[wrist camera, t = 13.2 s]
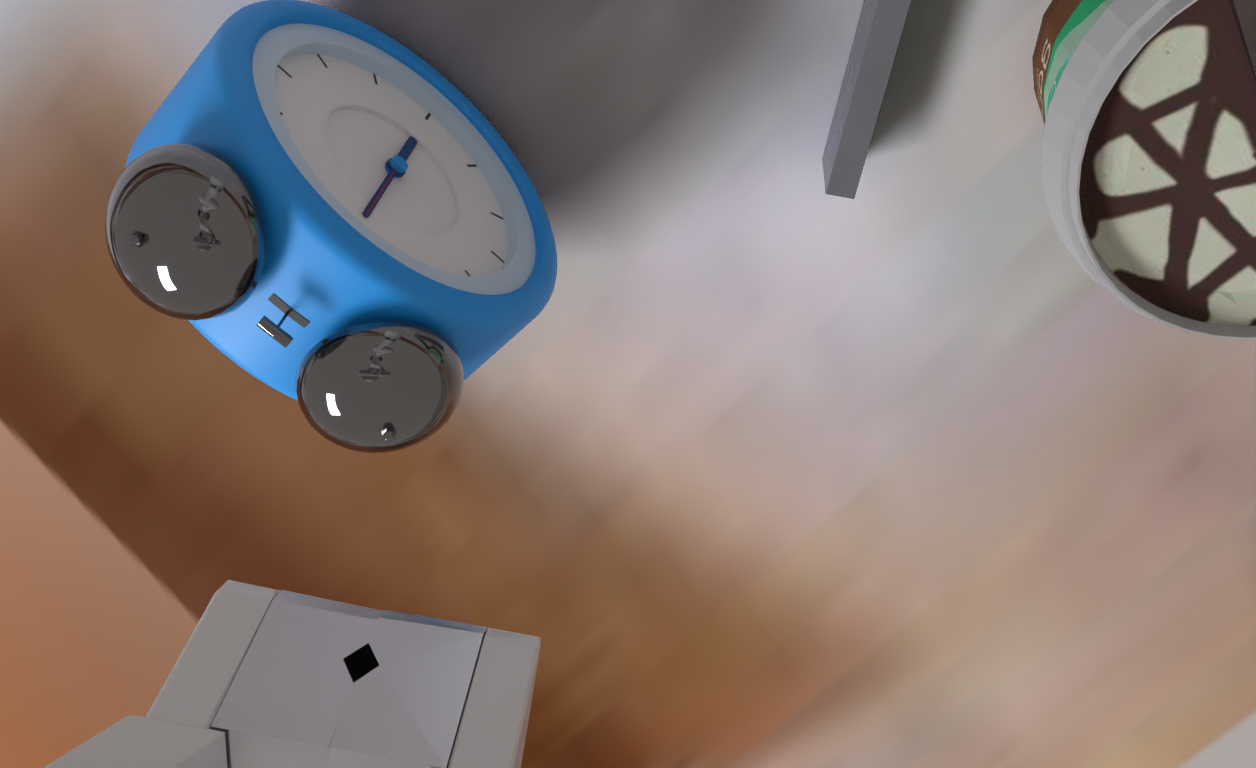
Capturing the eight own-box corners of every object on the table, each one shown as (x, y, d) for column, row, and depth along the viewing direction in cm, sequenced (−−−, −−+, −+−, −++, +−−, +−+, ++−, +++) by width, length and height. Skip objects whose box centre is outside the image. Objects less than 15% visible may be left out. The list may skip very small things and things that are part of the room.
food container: (941, -34, 39) (988, 68, 30) (1129, -130, 36) (1233, -48, 28) (1063, 260, 44) (1131, 413, 36) (1233, 191, 42) (1346, 337, 34)
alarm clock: (587, 198, 45) (517, 430, 32) (484, 293, 48) (385, 539, 35) (312, -54, 40) (112, 103, 28) (218, 67, 43) (-2, 258, 31)
